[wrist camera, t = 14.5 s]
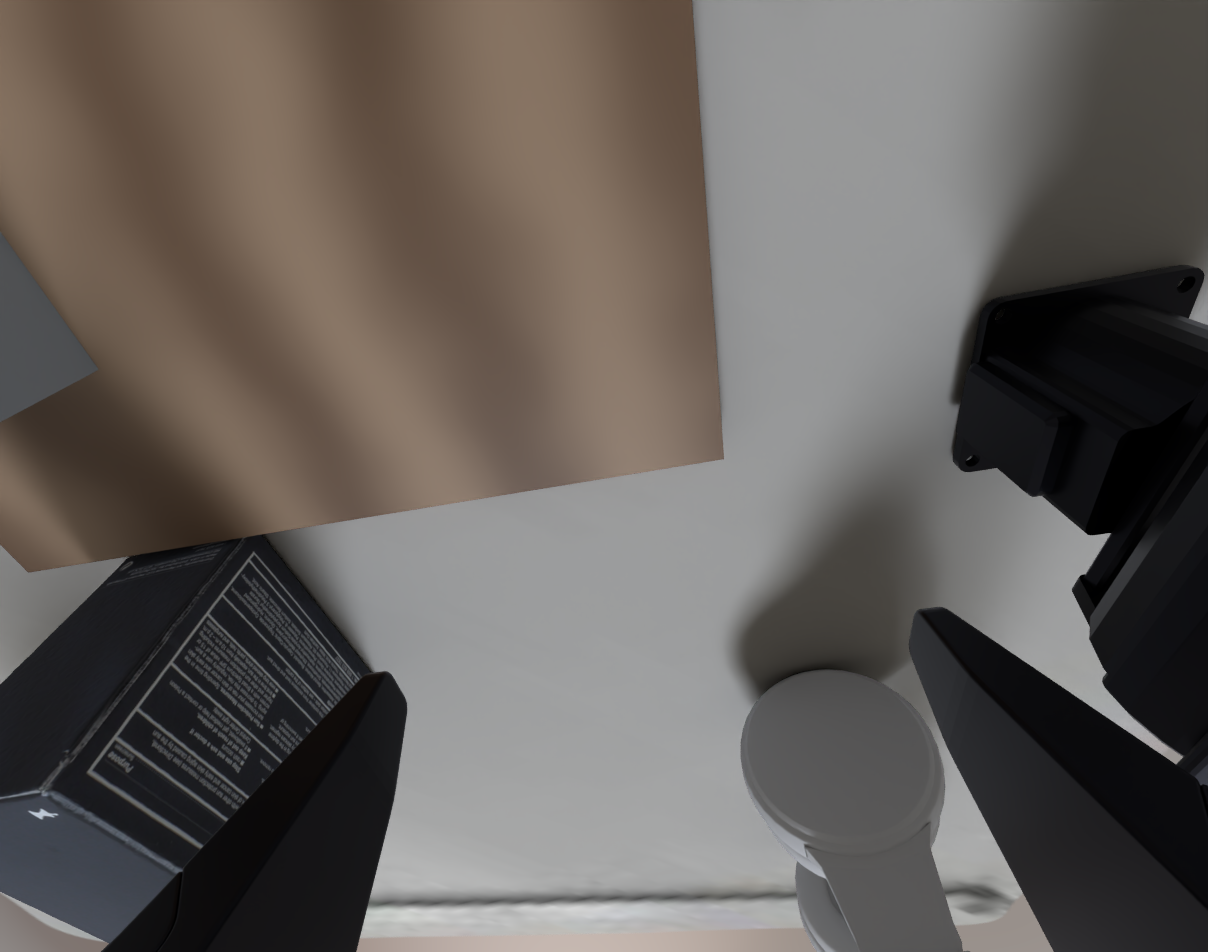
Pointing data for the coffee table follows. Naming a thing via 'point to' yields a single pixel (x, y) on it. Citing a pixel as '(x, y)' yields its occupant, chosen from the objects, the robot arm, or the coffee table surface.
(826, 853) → the headphones
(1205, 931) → the robot arm
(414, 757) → the coffee table surface
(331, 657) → the small box
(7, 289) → the slate cube
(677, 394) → the walnut board
